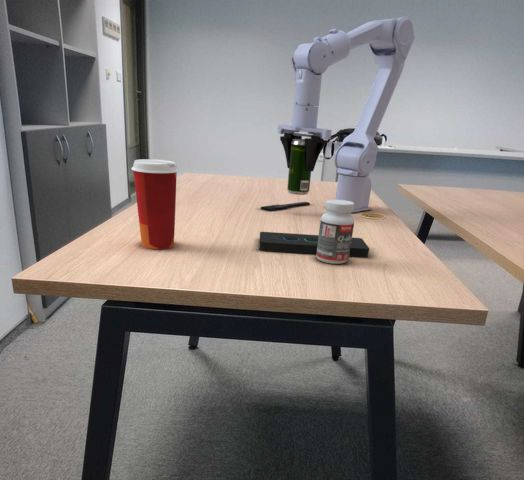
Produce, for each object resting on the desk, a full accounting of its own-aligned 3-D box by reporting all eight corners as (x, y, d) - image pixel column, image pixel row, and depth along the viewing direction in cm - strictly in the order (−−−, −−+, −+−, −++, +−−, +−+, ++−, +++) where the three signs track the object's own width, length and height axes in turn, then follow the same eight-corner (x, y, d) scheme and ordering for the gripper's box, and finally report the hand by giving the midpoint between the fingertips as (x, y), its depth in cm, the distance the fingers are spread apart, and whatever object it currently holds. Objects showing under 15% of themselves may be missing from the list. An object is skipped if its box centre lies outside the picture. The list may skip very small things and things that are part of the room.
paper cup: (187, 243, 87) (186, 162, 80) (166, 253, 80) (163, 165, 74) (149, 237, 89) (146, 157, 82) (126, 246, 82) (120, 160, 76)
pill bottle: (340, 266, 80) (349, 206, 75) (310, 259, 82) (317, 201, 78) (353, 259, 84) (362, 202, 79) (324, 253, 87) (331, 197, 82)
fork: (303, 203, 131) (303, 201, 131) (311, 205, 129) (311, 203, 129) (260, 209, 120) (260, 206, 120) (268, 211, 118) (269, 208, 118)
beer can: (313, 194, 115) (319, 140, 109) (297, 195, 112) (302, 140, 106) (298, 190, 118) (303, 138, 113) (282, 191, 115) (286, 138, 110)
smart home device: (259, 230, 92) (361, 237, 92) (259, 239, 93) (360, 245, 93) (259, 241, 84) (370, 248, 85) (259, 250, 85) (368, 257, 86)
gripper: (270, 103, 108) (266, 166, 114) (320, 106, 99) (313, 174, 106) (290, 104, 113) (286, 165, 119) (340, 108, 104) (332, 173, 110)
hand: (300, 169), depth 113 cm, fingers closed on beer can, 5 cm apart
